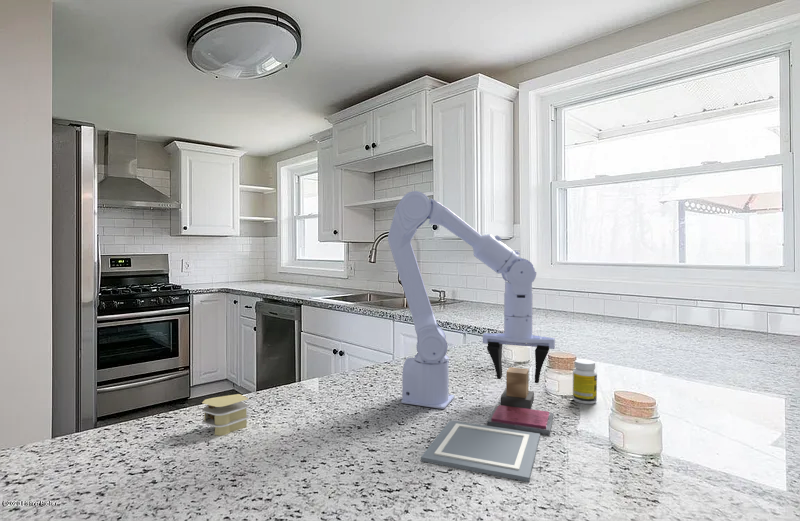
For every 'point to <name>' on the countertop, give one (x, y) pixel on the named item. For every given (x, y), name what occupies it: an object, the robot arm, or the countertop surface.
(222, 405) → the yellow white layered block
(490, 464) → the marked board
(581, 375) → the supplement bottle
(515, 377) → the stamp
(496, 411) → the ink pad
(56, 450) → the countertop surface
